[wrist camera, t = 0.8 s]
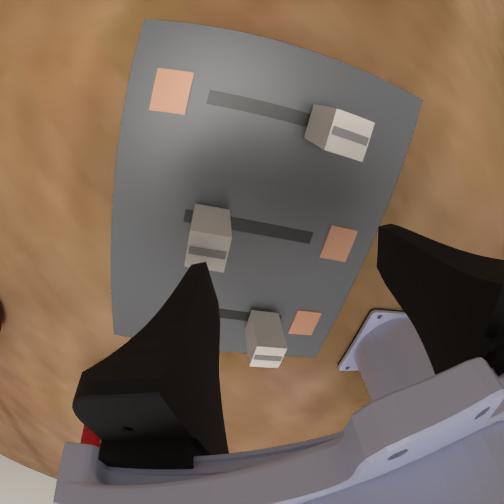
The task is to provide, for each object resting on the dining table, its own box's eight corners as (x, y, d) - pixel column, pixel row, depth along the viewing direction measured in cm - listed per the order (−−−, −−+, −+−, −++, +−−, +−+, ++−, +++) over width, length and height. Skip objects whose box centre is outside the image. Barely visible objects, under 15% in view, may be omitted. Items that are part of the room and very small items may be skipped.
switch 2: (346, 115, 15) (375, 123, 12) (336, 147, 16) (363, 162, 13) (313, 104, 15) (337, 108, 12) (303, 137, 16) (324, 150, 13)
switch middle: (229, 209, 17) (232, 238, 14) (222, 240, 18) (223, 273, 15) (195, 203, 17) (189, 231, 14) (189, 234, 18) (184, 267, 15)
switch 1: (278, 313, 22) (287, 349, 19) (270, 332, 23) (278, 368, 19) (251, 309, 21) (257, 347, 18) (244, 329, 22) (249, 367, 19)
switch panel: (410, 98, 16) (423, 100, 15) (310, 345, 27) (315, 358, 25) (149, 24, 13) (143, 18, 12) (118, 321, 23) (113, 335, 22)
